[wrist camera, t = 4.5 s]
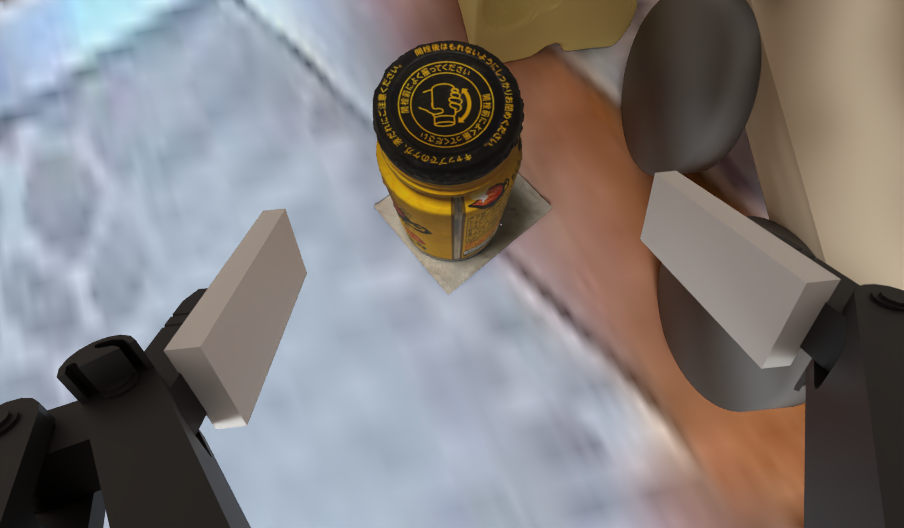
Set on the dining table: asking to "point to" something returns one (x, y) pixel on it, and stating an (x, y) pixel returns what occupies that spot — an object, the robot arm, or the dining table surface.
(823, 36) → the trolley
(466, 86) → the condiment
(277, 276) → the robot arm
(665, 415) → the dining table surface
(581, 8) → the cheese
